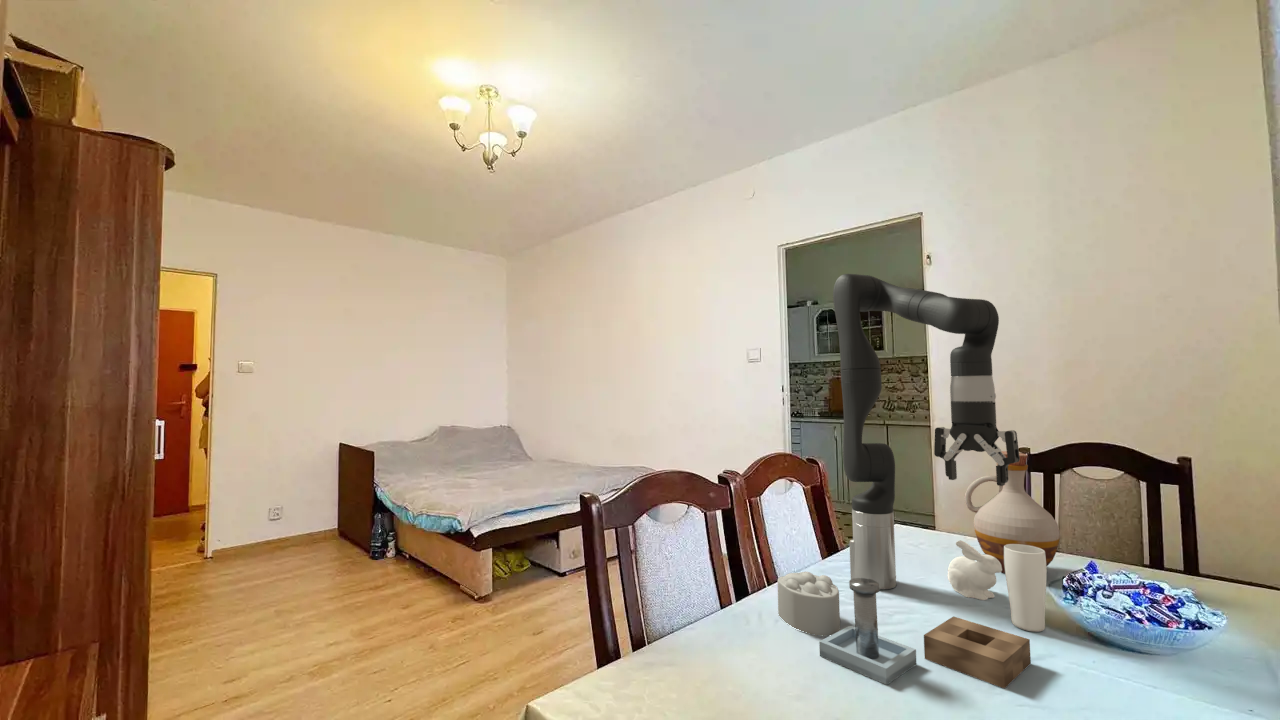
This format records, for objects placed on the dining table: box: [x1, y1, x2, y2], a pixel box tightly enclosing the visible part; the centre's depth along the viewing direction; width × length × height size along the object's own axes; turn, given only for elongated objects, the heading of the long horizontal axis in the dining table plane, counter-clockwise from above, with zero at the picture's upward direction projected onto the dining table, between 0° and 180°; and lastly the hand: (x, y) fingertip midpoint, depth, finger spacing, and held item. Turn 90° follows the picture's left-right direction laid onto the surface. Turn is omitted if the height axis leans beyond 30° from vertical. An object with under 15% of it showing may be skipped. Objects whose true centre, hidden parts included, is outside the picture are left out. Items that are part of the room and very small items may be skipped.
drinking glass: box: [1004, 544, 1048, 633], centre depth 105 cm, size 7×7×15 cm
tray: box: [818, 625, 917, 686], centre depth 92 cm, size 12×10×2 cm
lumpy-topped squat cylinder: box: [777, 571, 841, 637], centre depth 108 cm, size 10×13×9 cm
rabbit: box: [947, 540, 1002, 601], centre depth 122 cm, size 12×9×12 cm
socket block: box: [923, 616, 1032, 689], centre depth 92 cm, size 12×12×4 cm
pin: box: [848, 578, 881, 659], centre depth 93 cm, size 5×5×12 cm
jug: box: [964, 450, 1061, 575], centre depth 136 cm, size 20×18×30 cm
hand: (976, 482), depth 105 cm, fingers open, 8 cm apart
